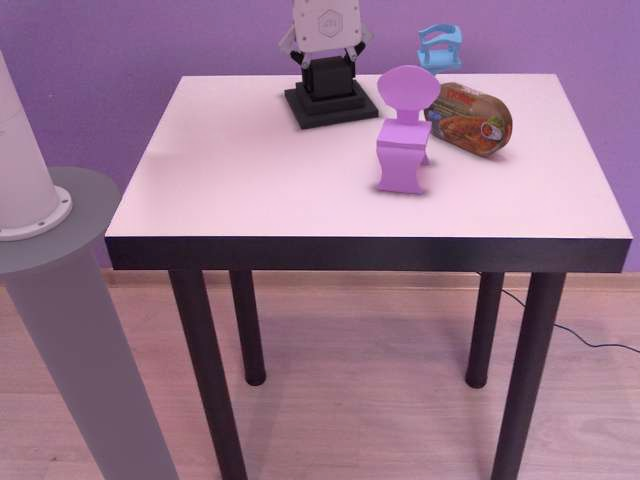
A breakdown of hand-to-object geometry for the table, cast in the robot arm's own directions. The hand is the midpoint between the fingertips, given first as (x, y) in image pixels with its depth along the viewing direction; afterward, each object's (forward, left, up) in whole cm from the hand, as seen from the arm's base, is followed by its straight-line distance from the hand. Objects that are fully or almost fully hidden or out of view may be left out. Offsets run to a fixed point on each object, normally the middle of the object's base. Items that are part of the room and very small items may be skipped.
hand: (329, 84), depth 103 cm
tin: (+16, -19, -4) cm, 25 cm away
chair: (+18, -3, -4) cm, 19 cm away
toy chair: (+4, -25, -4) cm, 26 cm away
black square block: (0, 0, -1) cm, 1 cm away
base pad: (0, 0, -4) cm, 4 cm away
